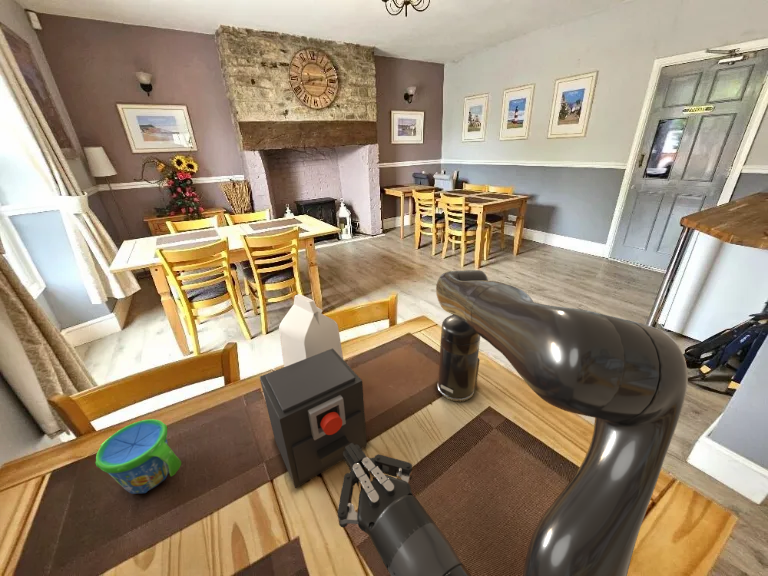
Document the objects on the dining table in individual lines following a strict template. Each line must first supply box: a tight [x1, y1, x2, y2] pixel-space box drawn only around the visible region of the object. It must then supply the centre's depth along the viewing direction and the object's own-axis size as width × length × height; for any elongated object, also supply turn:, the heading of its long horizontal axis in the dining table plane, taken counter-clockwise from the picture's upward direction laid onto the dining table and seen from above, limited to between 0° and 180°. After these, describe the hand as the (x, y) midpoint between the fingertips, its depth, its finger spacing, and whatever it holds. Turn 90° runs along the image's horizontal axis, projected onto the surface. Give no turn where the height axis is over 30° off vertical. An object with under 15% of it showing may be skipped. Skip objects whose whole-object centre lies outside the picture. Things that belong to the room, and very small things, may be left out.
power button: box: [321, 412, 343, 435], centre depth 55 cm, size 4×2×4 cm, turn 124°
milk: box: [278, 293, 344, 367], centre depth 80 cm, size 12×12×26 cm
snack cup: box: [94, 418, 182, 495], centre depth 60 cm, size 16×10×10 cm
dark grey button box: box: [259, 348, 368, 489], centre depth 63 cm, size 16×16×19 cm
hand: (348, 448), depth 51 cm, fingers closed
